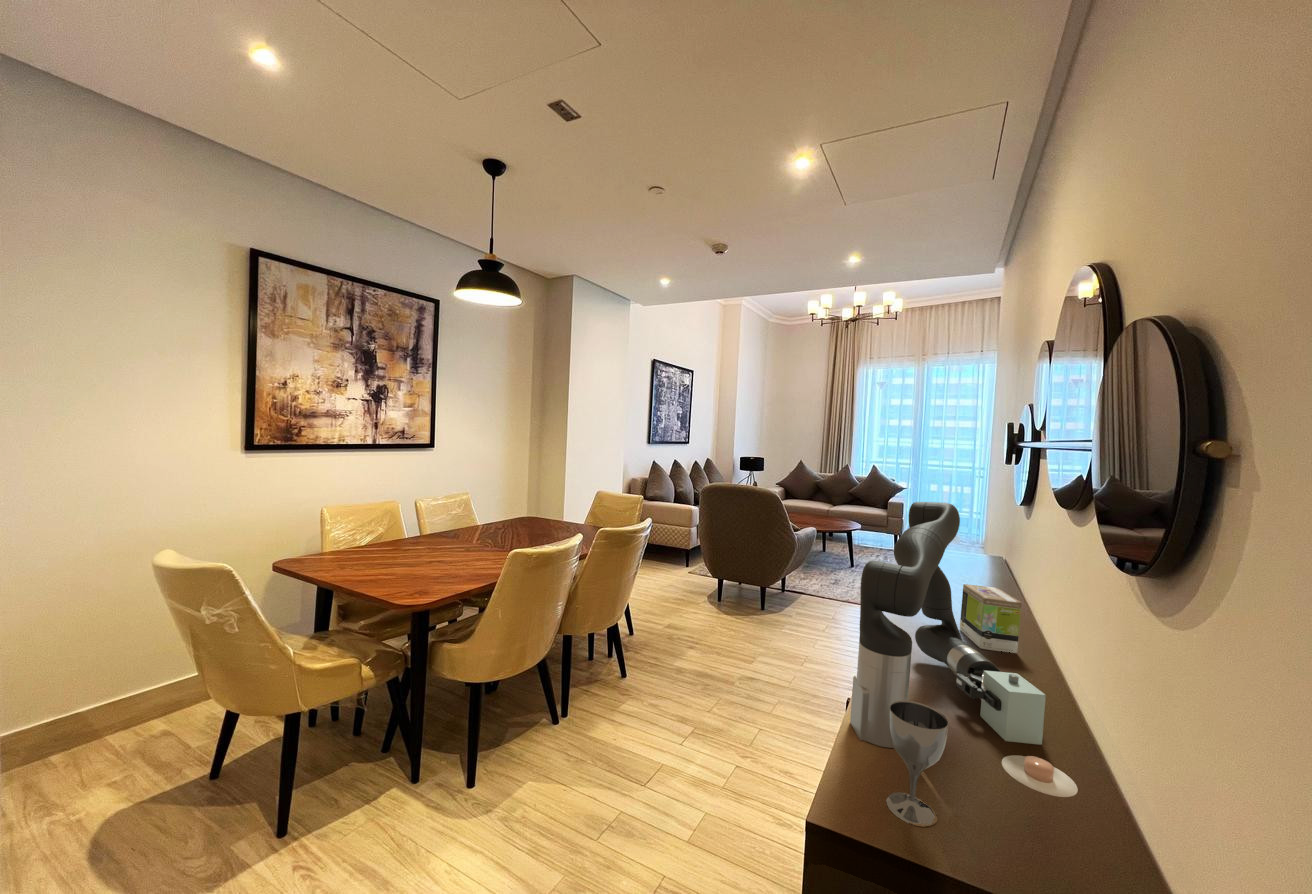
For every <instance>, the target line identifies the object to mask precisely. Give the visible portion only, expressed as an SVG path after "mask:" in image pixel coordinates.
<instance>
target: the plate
mask: <svg viewBox="0 0 1312 894" xmlns="http://www.w3.org/2000/svg"><path fill="white" fill-rule="evenodd" d="M1025 757H1026V756H1023V755H1018V754H1017V755H1016V754H1014V755H1013V754H1012V755H1007V756H1004V757H1003V758H1002V759H1001V765H1002V768H1003V769H1004V771H1005V772H1006V773H1008V775H1009V776H1011V777H1012V778H1013V779H1015V780H1016V781H1017V782H1018V783H1021V784H1022V785H1023V786H1025V787H1028V788H1030V789H1031V790H1034V791H1037V792H1039V793H1043V794H1045V795H1049V796H1053V797H1059V798H1070V797H1074V796H1075V795H1077V793H1078V792H1079V791H1078V790H1079V789H1078V786H1077V784H1076V782H1075V781H1074V780H1073V779H1072V778H1071V777H1070V776H1068V775H1067V774H1066V773H1065V772H1063V771H1062V770H1060V769H1058V768H1056V767H1055V766H1053V767H1054V776H1053V782H1051V783H1044V782H1040V781H1038V780H1035V779H1033V778H1031V777H1030V776H1028V775H1027V774H1026V773H1025V771H1024V763H1025Z"/></svg>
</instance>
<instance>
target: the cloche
mask: <svg viewBox="0 0 1312 894" xmlns="http://www.w3.org/2000/svg"><path fill="white" fill-rule="evenodd" d="M983 682H984V685H985V686H986V687H987V688H988V689H989V691H991V692H992V693H993V694H995V695H996V696H997V697H998V698H999V699H1000V700H1001V711H997V710H995V709H994V708H993V707H991V706H990V705H989V704H988V703H987V702H985V701H982V700H981V699H980V700H981V701H980V702H981V703H980V714H979V715H980V717H981V718H982V719H983V720H984V721H985V722H986V723H987V724H988V725H989V726H990V727H991V729H993V730H994V731H995V732H996V733H997V734H998V736H1000V737H1001V739H1003V740H1004V741H1005V742H1011V743H1012V742H1013V743H1020V744H1021V743H1022V744H1030V745H1031V744H1032V745H1040V746H1041V745H1043V734H1044V725H1045V724H1044V722H1045V721H1044V720H1045V712H1046V711H1045V709H1046V698H1047V696H1046V693H1044V692H1043V691H1041V690H1040V689H1039V688H1037V687H1036V686H1035V685H1033V684H1032V683H1030V682H1029V681H1028V680H1026V679H1025V678H1024V677H1022V676H1021V675H1020V674H1019V673H1015V672H1004V671H1000V672H996V671H985V670H984V673H983Z"/></svg>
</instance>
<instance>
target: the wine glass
mask: <svg viewBox="0 0 1312 894" xmlns="http://www.w3.org/2000/svg"><path fill="white" fill-rule="evenodd" d="M889 725H890V735H891V740H892V743H893V746H894V748H893V749H894V750H895V751H896V753H897V754H898V755H899V757H900V758H901V760H902V761H903V763H905V765H906V768H907V771H908V772H909V793H907V792H900V791H899V792H892V793H890V794H889V795H888V796H887V797H886V800H885V802H886V806H887V808H888V809H889V811H890V812H891V813H892V814H893V816H895V817H897V818H898V819H899V818H900V820H901V821H903V822H904V821H905V823H906V822H907V824H909V822H910V823H911V822H912V823H913V824H914V823H915V824H916V823H917V824H918V823H919V824H922V823H923V824H922V825H924V824H926V823H927V824H926V825H928V824H929V825H930V824H932V822H934V821H933V819H934V818H935V815H934V813H933V811H932V809H931V808H930V807H929V806H928V805H926V804H924V803H923V802H921V801H919V800H918V799H917V798H915V796H916V794H917V793H916V792H917V785H918V782H919V777H920V775H921V774H922V773H923V772H924V770H926V769H928V768H930V767H931V766H934V765H935V764H936V763H937V762H939V761H940V759H941V758H942V755H943V753H944V750H945V748H946V743H947V739H948V729H949V728H948V727H949V721H948V719H947V717H946V716H945V715H944V714H942V713H941V712H940V711H939V710H937V709H935V708H934V707H932V706H930V705H927V704H925V703H921V702H917V701H915V700H908V701H906V700H900V701H895V702H893V703H892V704H891V706H890V713H889ZM906 793H907V794H906ZM909 794H910V795H909Z"/></svg>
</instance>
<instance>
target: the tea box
mask: <svg viewBox="0 0 1312 894" xmlns="http://www.w3.org/2000/svg"><path fill="white" fill-rule="evenodd" d="M961 598H962V599H961V607H960V608H961V609H960V619H959V631H961V632H962V633H963V634H964V635H965V636H966V637H968V639H969V640H970V641H972V643H974V644H975V645H976V646H977V647H978V648H979V649H982V650H989V651H995V652H1001V651H1002V652H1003V653H1009V652H1010V653H1011V654H1017V653H1018V647H1019V635H1020V624H1021V614H1022V601H1020V600H1018V599H1016V598H1015V597H1013V596H1011V595H1010V594H1008V593H1006V592H1005V591H1004V590H1001V589H1000V588H998V587H995V586H993V587H992V586H983V585H977V584H976V585H975V584H968V583H967V584H963V585H962V597H961ZM1002 652H1001V653H1002ZM1010 653H1009V654H1010Z"/></svg>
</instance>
